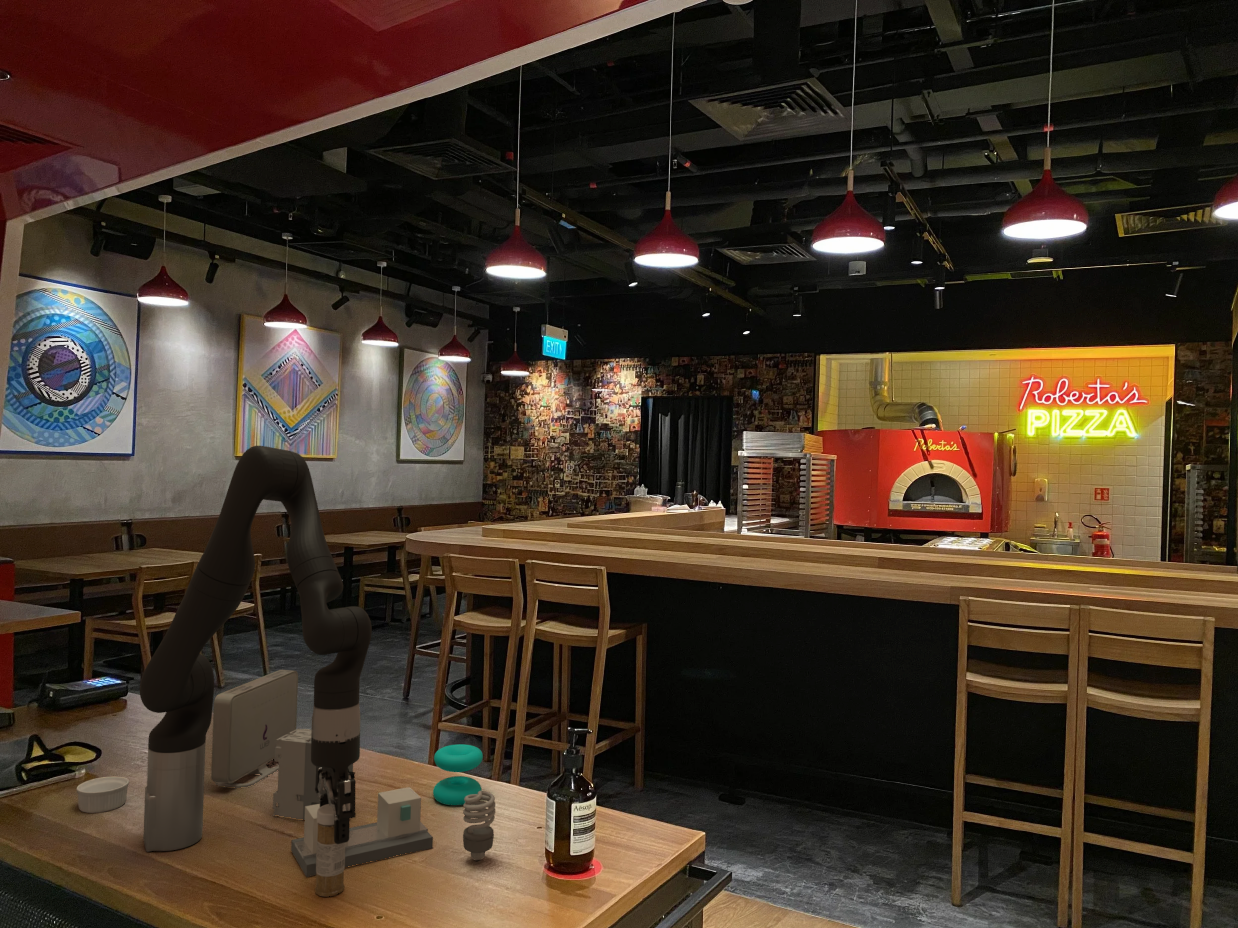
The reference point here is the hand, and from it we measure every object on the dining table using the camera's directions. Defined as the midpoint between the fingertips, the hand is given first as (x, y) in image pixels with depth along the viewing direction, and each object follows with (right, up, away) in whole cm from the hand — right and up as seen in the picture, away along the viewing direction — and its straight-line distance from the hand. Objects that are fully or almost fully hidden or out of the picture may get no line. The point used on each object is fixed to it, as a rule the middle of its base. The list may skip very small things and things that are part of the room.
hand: (333, 832), depth 137 cm
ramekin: (-56, -8, +30) cm, 64 cm away
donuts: (+12, -10, +40) cm, 43 cm away
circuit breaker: (-13, -9, +30) cm, 34 cm away
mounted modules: (0, -7, +14) cm, 16 cm away
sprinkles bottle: (-1, -10, 0) cm, 10 cm away
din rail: (0, -8, +15) cm, 17 cm away
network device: (-34, -9, +51) cm, 62 cm away
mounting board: (0, -10, +15) cm, 18 cm away
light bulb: (+21, -10, +12) cm, 26 cm away
